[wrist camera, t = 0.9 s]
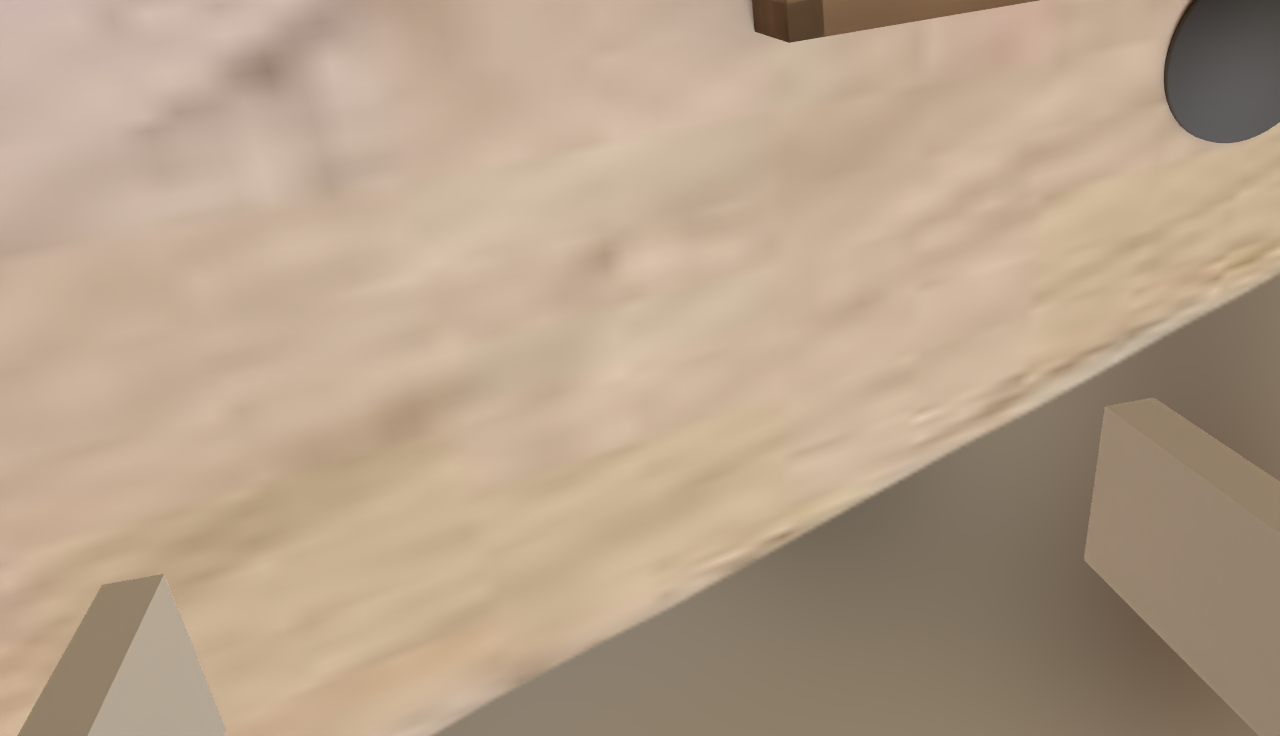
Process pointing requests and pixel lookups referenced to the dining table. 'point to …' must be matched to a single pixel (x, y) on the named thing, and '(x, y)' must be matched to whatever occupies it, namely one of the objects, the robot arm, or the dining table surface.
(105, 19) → the dining table surface
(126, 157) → the dining table surface
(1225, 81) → the hole disc
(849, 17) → the walnut cubby
